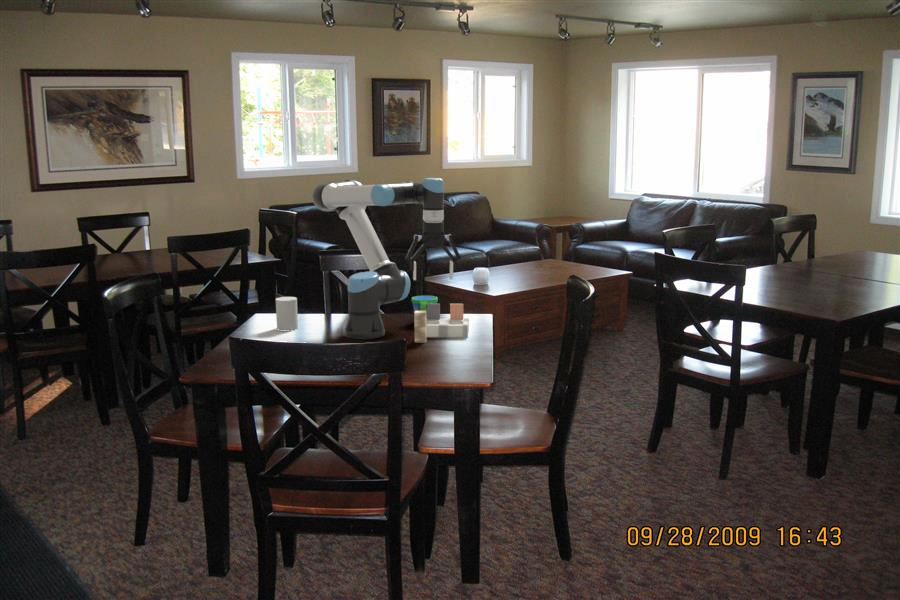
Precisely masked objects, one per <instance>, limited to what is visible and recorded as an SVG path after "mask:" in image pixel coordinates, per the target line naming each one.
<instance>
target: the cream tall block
mask: <svg viewBox="0 0 900 600" xmlns="http://www.w3.org/2000/svg"><path fill="white" fill-rule="evenodd" d="M413 314H414V317H413V318H414V319H413V320H414V343H422V344H423V343H427V340H428V339H427V338H428V337H427V330H426V311H415V313H414V312H413Z"/></svg>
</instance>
